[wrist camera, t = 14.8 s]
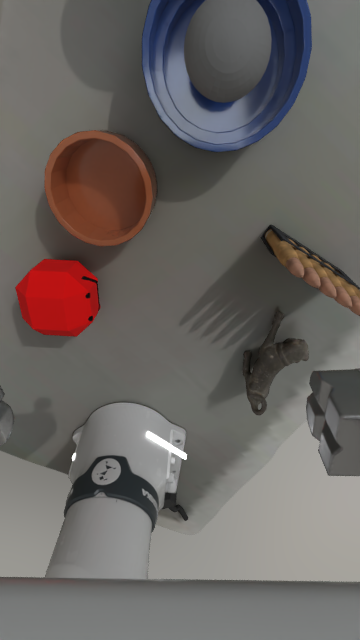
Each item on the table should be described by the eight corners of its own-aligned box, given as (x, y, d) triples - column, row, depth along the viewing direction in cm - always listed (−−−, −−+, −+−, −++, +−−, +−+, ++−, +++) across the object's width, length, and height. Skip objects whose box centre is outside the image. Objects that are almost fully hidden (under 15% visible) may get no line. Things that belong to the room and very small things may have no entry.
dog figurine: (266, 385, 47) (276, 425, 41) (230, 373, 46) (235, 411, 40) (313, 321, 41) (334, 355, 35) (273, 305, 41) (287, 337, 34)
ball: (105, 314, 42) (89, 347, 36) (45, 311, 43) (17, 343, 36) (100, 255, 38) (80, 281, 32) (34, 252, 39) (0, 276, 32)
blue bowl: (288, 142, 32) (302, 144, 27) (158, 154, 33) (152, 157, 28) (302, -43, 25) (323, -80, 21) (140, -21, 26) (128, -51, 22)
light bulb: (267, 45, 28) (299, 5, 19) (234, 120, 30) (249, 115, 22) (204, 8, 27) (207, -51, 18) (176, 90, 30) (167, 72, 21)
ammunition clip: (260, 238, 36) (285, 279, 26) (270, 223, 36) (300, 261, 25) (331, 283, 39) (381, 338, 28) (343, 271, 38) (398, 323, 28)
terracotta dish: (162, 230, 37) (157, 242, 33) (75, 237, 37) (60, 249, 34) (150, 126, 31) (144, 125, 28) (50, 136, 32) (30, 136, 28)
